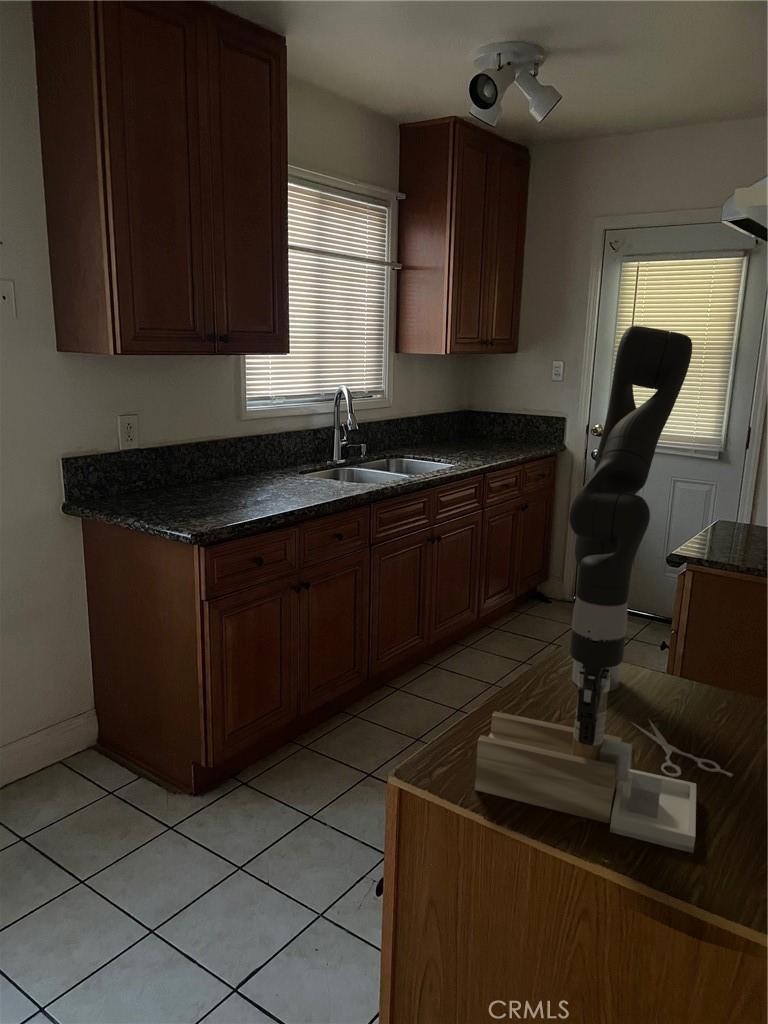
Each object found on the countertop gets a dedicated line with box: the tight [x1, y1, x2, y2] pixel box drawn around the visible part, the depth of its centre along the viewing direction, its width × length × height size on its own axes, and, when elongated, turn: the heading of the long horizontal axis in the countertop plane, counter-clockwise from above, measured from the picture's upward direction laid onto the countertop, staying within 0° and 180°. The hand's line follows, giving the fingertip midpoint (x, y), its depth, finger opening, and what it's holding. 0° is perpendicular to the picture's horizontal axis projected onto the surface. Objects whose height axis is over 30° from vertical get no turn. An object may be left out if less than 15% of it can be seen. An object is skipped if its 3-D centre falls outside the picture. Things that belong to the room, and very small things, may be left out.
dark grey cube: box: [628, 773, 662, 818], centre depth 111 cm, size 4×4×4 cm
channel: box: [474, 711, 622, 824], centre depth 116 cm, size 10×20×8 cm, turn 68°
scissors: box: [630, 718, 733, 778], centre depth 131 cm, size 11×1×20 cm
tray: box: [609, 768, 697, 854], centre depth 111 cm, size 14×11×2 cm
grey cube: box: [599, 739, 633, 782], centre depth 112 cm, size 4×4×4 cm
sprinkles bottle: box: [571, 675, 610, 761], centre depth 112 cm, size 5×5×14 cm
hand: (588, 735), depth 113 cm, fingers closed on sprinkles bottle, 4 cm apart
